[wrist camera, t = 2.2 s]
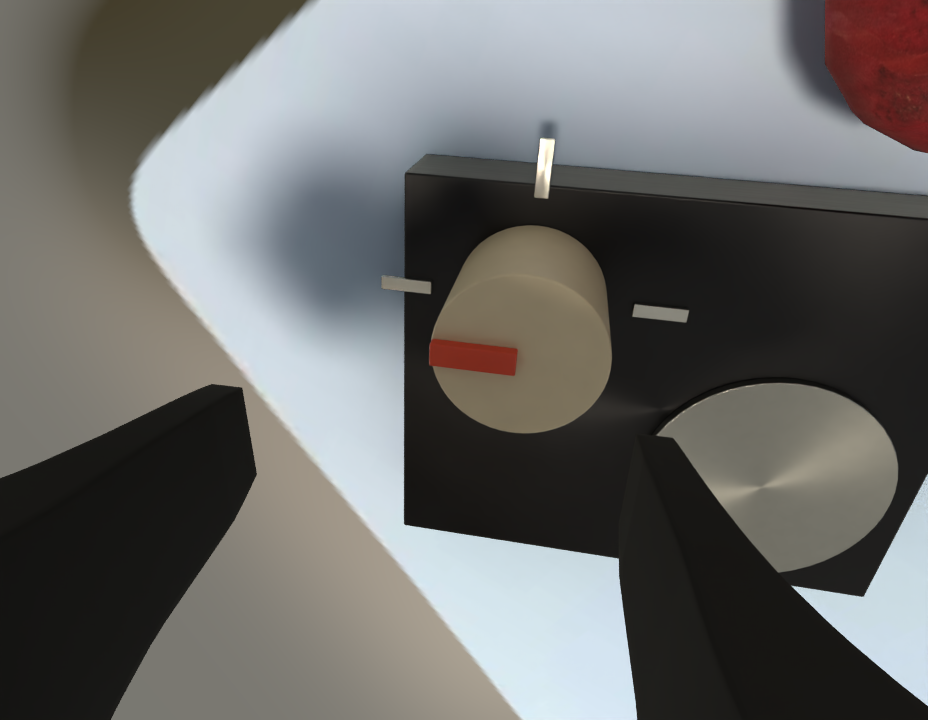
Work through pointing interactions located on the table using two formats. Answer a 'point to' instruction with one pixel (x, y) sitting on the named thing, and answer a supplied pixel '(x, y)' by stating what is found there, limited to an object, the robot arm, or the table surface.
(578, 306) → the knob
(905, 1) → the onion
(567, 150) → the table surface
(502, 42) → the table surface
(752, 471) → the burner
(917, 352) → the hob
